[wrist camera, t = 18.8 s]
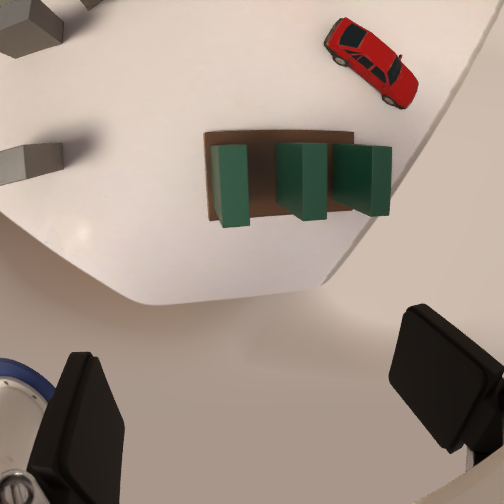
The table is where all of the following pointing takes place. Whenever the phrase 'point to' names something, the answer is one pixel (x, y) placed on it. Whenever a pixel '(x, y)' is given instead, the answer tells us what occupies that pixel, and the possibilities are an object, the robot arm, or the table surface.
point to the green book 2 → (302, 179)
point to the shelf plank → (270, 165)
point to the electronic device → (90, 3)
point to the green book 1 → (230, 184)
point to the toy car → (372, 62)
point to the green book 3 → (362, 177)
